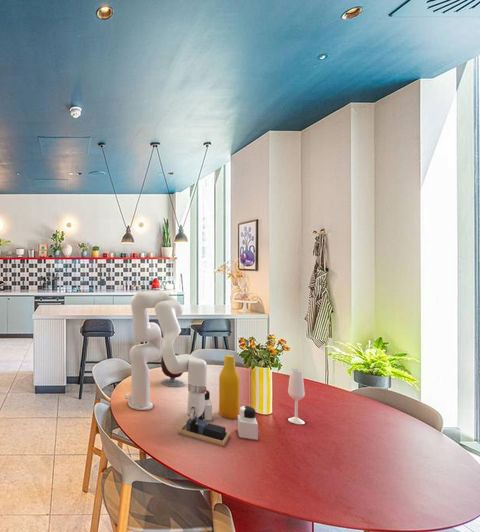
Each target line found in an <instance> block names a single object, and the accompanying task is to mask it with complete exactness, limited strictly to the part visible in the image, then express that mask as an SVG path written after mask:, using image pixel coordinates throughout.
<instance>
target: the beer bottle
mask: <svg viewBox="0 0 480 532" xmlns="http://www.w3.org/2000/svg"><path fill="white" fill-rule="evenodd" d="M240 382H241V379H240V376H239V373H238V371H237V369H236V359H235V355H233V354H225V355H224V359H223V366H222V370H221V371H220V373H219V377H218V383H219V384H218V387H219V388H218V414H219V415H220V416H221V417H222V418H225V419H228V420H236V419H237V420H238V415H240V407H241V406H240V403H241V401H240V398H241V395H240V387H241V383H240Z"/></svg>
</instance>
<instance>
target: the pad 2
mask: <svg viewBox="0 0 480 532" xmlns="http://www.w3.org/2000/svg"><path fill="white" fill-rule="evenodd" d="M226 429H227V428H226V427H225V426H221V425H218V424H213V423H210V422H207V426H206V427H205V436H207V437H210V438H214V439H217V440H221V441H223V440H224V438H225V436H226V432H227V430H226Z"/></svg>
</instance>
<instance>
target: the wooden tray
mask: <svg viewBox="0 0 480 532" xmlns="http://www.w3.org/2000/svg"><path fill="white" fill-rule="evenodd" d="M187 421H188V420H186V421H185V422H184V424H183V425H182V426H181V427H180V428H179V430H178V431H179V434H182V435H186V436H189V437H192V438H196V439H199V440H202V441H205V442H209V443H213V444H216V445H220V446H222V447H224V446H225V445H226V443H227V441H228V439H229V438H230V432H229V431H226V436H225V438H224V440H223V441H221V440H217V439H214V438H210V437H207V436H205V433H204V435H200V434H196V433H193V432H189V431H186V428H187Z"/></svg>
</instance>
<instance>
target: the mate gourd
mask: <svg viewBox="0 0 480 532" xmlns="http://www.w3.org/2000/svg"><path fill="white" fill-rule="evenodd" d="M175 355H176V356H179V355H181V354H179V353H175ZM160 366H161V371H162V373H163V375H164V376H166V377H168V379H163V380H162V385H164V386H165V387H171V388H178V387H179V388H180V387H182V386H183V385H184V382H183V381H182V380H179V379H176V378H180V377H181V376H182V375H183V374H184V372H183V373H179V374H172V373H171V372H169V371H168V369H167V367H166V365H165V363H164V360H163V357H162V356H161V360H160Z"/></svg>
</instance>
